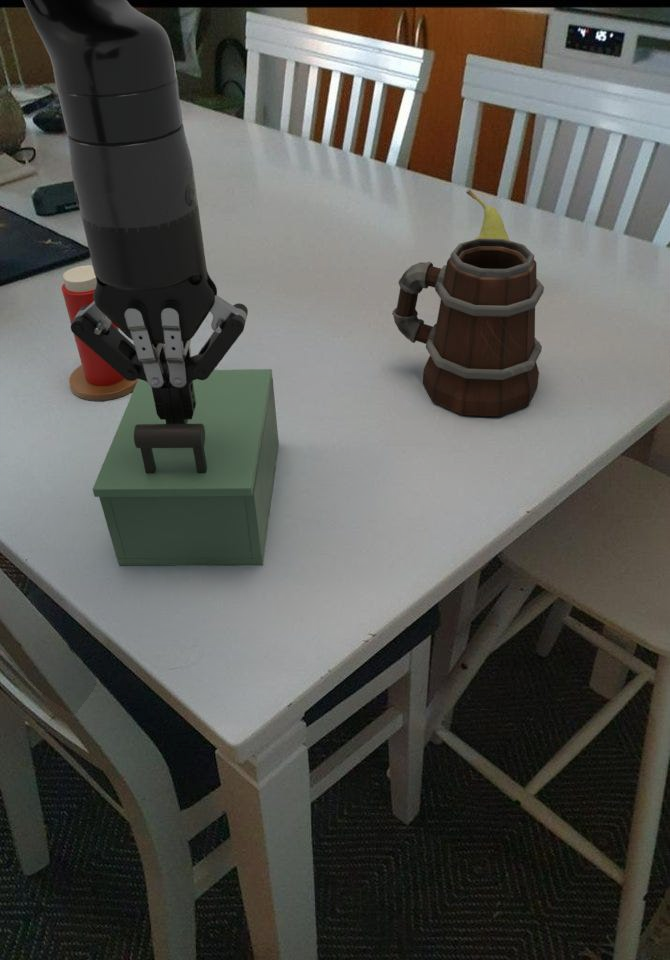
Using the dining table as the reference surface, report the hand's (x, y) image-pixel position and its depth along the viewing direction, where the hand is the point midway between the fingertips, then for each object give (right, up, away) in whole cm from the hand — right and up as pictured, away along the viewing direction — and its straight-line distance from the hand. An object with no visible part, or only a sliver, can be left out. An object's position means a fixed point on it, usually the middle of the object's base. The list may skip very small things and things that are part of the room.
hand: (178, 420), depth 63 cm
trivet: (-13, +6, +26) cm, 30 cm away
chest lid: (0, -1, +5) cm, 5 cm away
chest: (+1, -6, +10) cm, 12 cm away
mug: (+26, +6, +24) cm, 36 cm away
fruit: (+32, +20, +41) cm, 56 cm away
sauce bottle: (-13, +7, +26) cm, 30 cm away
